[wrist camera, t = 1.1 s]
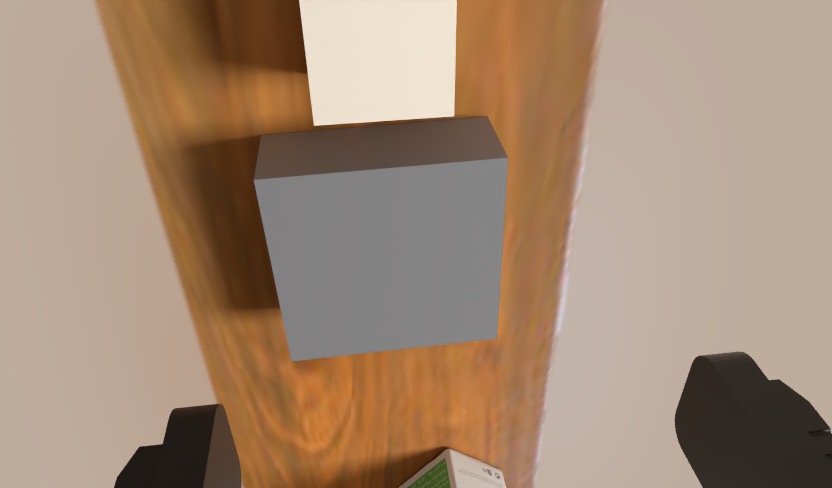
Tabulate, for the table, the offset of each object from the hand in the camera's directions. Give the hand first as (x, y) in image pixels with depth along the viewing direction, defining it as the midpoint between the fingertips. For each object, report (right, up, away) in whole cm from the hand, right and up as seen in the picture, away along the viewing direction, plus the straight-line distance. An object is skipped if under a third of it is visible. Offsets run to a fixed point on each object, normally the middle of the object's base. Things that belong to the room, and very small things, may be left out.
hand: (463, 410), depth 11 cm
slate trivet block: (-3, +5, +27) cm, 27 cm away
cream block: (-3, +14, +19) cm, 24 cm away
